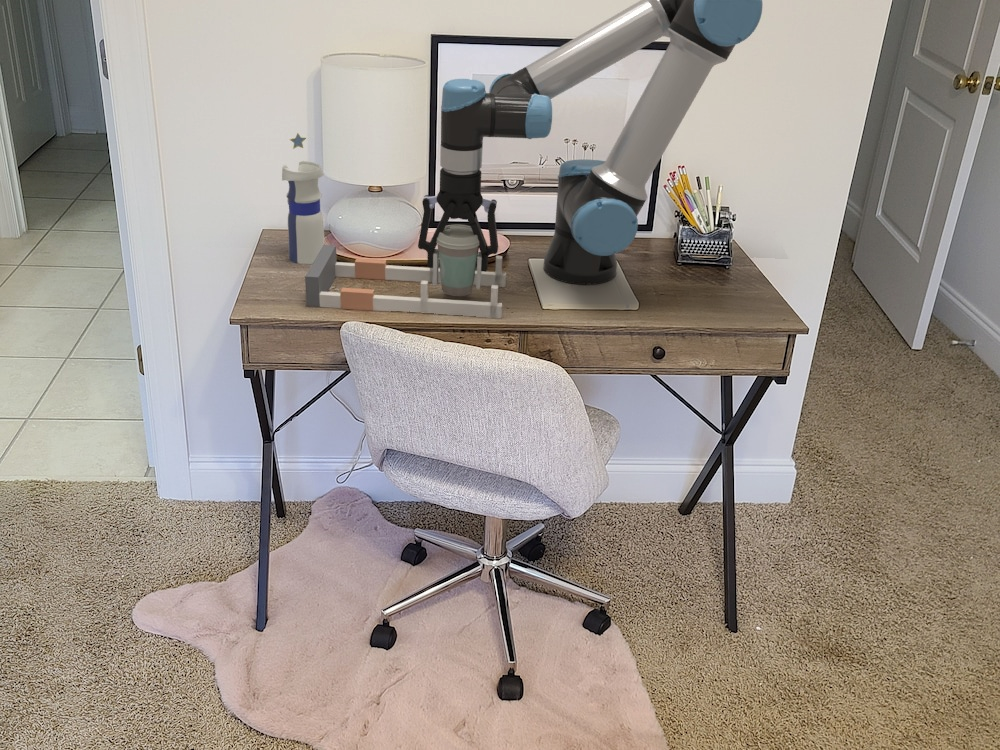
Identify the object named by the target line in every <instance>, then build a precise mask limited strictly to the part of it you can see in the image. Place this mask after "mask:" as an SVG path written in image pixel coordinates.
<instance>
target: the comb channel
mask: <svg viewBox="0 0 1000 750" xmlns="http://www.w3.org/2000/svg"><path fill="white" fill-rule="evenodd" d="M494 270H495V271H488V270H487V271H486V272H484V271H482V274H481V287H483V286H484V287H491V288H490V301H475V300H461V299H444V298H430V297H429V283H432V284H433V268H428V267H423V266H420V267H419V266H407V265H406V266H405V265H403V266H402V265H393V264H391V265H389V264H387V260H386V259H374V258H355V261H354V262H343V261H338V260H337V246H336V245H334V244H333V245H331V244H325V245H323V246H322V248H321V250H320V252H319V253H318V255H317V257H316V258H315V260H314V262H313V264H310V267H309V269H308V271H307V272H306V274H305V276H304V283H305V300H306V307H312V308H313V307H316V308H318V307H319V308H332V309H342V310H343V309H344V310H358V311H372V312H373V311H378V312H391V311H408V312H409V311H410V312H424V313H434V314H433V315H438V314H447V315H446V316H453V315H463V316H462V317H469V316H476V317H475V318H485V317H486V318H487V319H488V318H489V319H502V315H503V303H502V302H498V300H499V299H498V297H499V296H498V295H499V288H506V283H507V282H506V280H507V272H503V271H502V270H503V256H502V255H496V256H495V269H494ZM336 277H337V278H338V277H339V278H352V279H353V278H354V279H363V280H364V279H365V280H368V279H369V280H381V281H388V280H389V281H402V282H416V283H420V297H415V296H402V295H401V296H399V295H398V296H397V295H396V296H395V295H383V294H380V295H379V294H375V289H373V288H372V289H370V288H369V289H368V288H353V287H341V289H340V292H336V291H329V290H330V288H331V286H332V284H333V282H334V280H335V279H336ZM476 281H477V270H475V275H474V282H473V286H476ZM437 284H441V275H440V267H438V283H437ZM435 313H436V314H435Z"/></svg>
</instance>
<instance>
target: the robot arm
mask: <svg viewBox="0 0 1000 750" xmlns="http://www.w3.org/2000/svg"><path fill="white" fill-rule="evenodd" d="M762 14H763V0H639V1H637V2H636V3H633V4H632V5H630V6H629V7H627V8H625V9H623V10H621V11H620V12H618V13H617V14H615V15H613V16H611V17H610V18H607V19H606V20H604V21H603V22H601V23H599V24H597V25H596V26H593V28H590V29H589V30H586V31H585V32H584V33H581V34H580V35H578V36H576V37H575V38H573V39H571V40H569V41H567V42H566V43H564V44H563V45H560V46H559V47H557V48H556V49H554V50H552V51H550V52H549V53H547V54H545V55H544V56H542V57H540V58H538V59H537V60H535V61H533V62H531V63H530V64H527V65H526V66H525V67H523V68H521V69H519V70H517V71H515V72H513V73H509V72H508V73H503V74H500V75H499V76H497V77H495V79H493V81H492V83H491V84H490V87H489V91H488V92H487V91H486V85H485V83H484V82H482V81H480V80H477V79H469V78H455V79H450V80H447V81H446V82H445V83H444V85H443V87H442V92H441V93H442V96H441V105H440V112H441V113H440V153H439V154H440V158H439V161H440V163H439V165H440V167H441V169H440V171H439V191H438V193H437V195H434V196H433V195H432V196H430V195H428V194H425V195H424V196H423V199H422V200H421V201H422V206H423V207H422V208H423V214H422V216H423V217H422V221H421V226H420V231H419V238H418V243H417V247H418V249H419V250H424V251H426V252H427V265H426V266H427V268H433V283H432V286H433V287H437V286H438V284H439V283H438V268H440V265H439V254H438V248H436V247H437V246H438V244H437V243H436V242H437V238H438V236H439V233H440V232H442V233H443V230H444V228H445V226H447V224H448V222H449V220H450V219H451V220H456V219H460V220H464V221H465V220H466V221H467V222H468V224H469V226H471V228H472V231H473V233H474V235H477V237H478V241H479V251H478V257H477V263H476V271H477V281H476V285H475V286H476V287H475V289H476V290H481V287H482V286H481V274H482V271H484V272H486V271H488V266H489V256H490V255H496V254H497V253H498V251H499V241H498V232H497V222H496V213H495V212H496V209H497V202H498V201H497V200H496V199H491V200H489V199H486V198H485V199H484V198H483V195H482V193H481V192H482V190H481V189H482V171H481V168H482V166H483V163H482V162H483V143H484V142H483V141H484V138H505V139H506V138H507V139H508V138H510V139H528V140H532V139H544V138H547V137H548V136H549V135H550V133H551V129H552V125H553V123H552V122H553V104H552V99H553V98H555V97H558V96H559V95H561V94H563V93H564V92H566V91H568V90H570V89H572V88H573V87H575V86H577V85H579V84H580V83H583V82H584V81H587V79H590V77H591V78H592V77H593V76H595V75H597V74H598V73H600V72H601V71H603V70H605V69H607V68H608V67H611V66H612V65H614V64H616V63H618V62H620V61H622V60H623V59H625V58H626V57H628V56H631V55H632V54H635V52H637V51H639V50H641V49H643V48H645V47H646V46H648V45H650V44H651V43H654V42H655V41H657V40H659V39H661V38H662V37H666V38H669V39H670V41H669V44H668V46H667V48H666V50H665V52H664V53H663V55H662V58H661V59H660V60H659V63H658V65H657V66H656V68H655V70H654V72H653V74H652V75H651V77H650V79H649V81H648V83H647V84H646V86H645V88H644V90H643V92H642V94H641V95H640V97H639V99H638V101H637V103H636V105H635V107H634V108H633V110H632V112H631V114H630V116H629V118H628V120H627V121H626V123H625V125H624V126H623V128H622V130H621V132H620V134H619V136H618V137H617V139H616V141H615V143H614V144H613V147H612V148H611V150H610V153H609V154H608V156H607V158H606V160H599V159H584V158H583V159H581V158H580V159H570V160H566V161H564V162H562V163H561V165H560V166H559V171H558V176H557V179H558V183H557V195H556V197H557V198H556V213H555V223H554V224H555V225H554V234H553V236H552V238H551V241H550V242H549V245H548V248H547V250H546V253H545V255H544V258H543V270H544V272H545V273H546V274H547V276H549V277H551V278H553V279H555V280H558V281H560V282H561V281H562V282H564V283H569V284H575V285H595V284H596V285H597V284H602V283H605V282H606V283H607V282H609V281H611V280H612V279H614V278H615V277H616V275H617V268H618V261H617V257H616V254H618V253H621V252H622V251H625V249H626V248H628V247H629V246H630V245H631V244H632V243H633V242H634V239H635V238H636V235H637V233H638V227H639V223H638V215H639V213H640V212H641V210H642V208H643V206H644V205H645V203H646V202H647V200H648V195H647V190H646V184H647V183H648V181H649V180H650V178H651V176H652V174H653V172H654V170H655V169H656V168H657V165H658V164H659V162H660V160H661V158H662V157H663V155H664V153H665V152H666V149H667V147H668V146H669V144H670V143H671V141H672V139H673V138H674V136H675V134H676V132H677V131H678V129H679V127H680V125H681V124H682V121H683V119H684V118H685V116H686V114H687V112H689V110H690V107H691V106H692V104H693V102H694V100H695V99H696V97H697V95H698V93H699V92H700V90H701V88H702V86H703V85H704V83H705V82H706V79H708V78H707V77H708V76H709V74H710V72H711V71H712V69H713V68H714V67H715V66H716V65H718V64H722V63H724V62H727V60H728V59H729V57H730V55H731V54H732V52H733V50H734V48H735V46H736V45H738V44H740V43H742V42H744V41H746V40H747V39H748V38H749V37H750V36H751V35H752V34H753V33H754V32H755V30H756V29H757V27H758V25H759V23H760V21H761V19H762ZM437 203H438V205H439V207H440V208H441V209H442V211H443V214H442V216H441V219H440V220H439V222H438V225H437V227H436V229H435V231H434V233H433V235H432V237H431V240H430V241H427V237H428V233H429V227H430V221H431V215H432V211H433V209H434V208H435V206H436V204H437ZM481 206H482V207H483V210H484V212H485V213H487V225H488V226H487V227H488V234H489V235H488V236H489V243H490V245H488V243H487V241H486V237H485V234H484V232H483V230H482V228H481V225H480V222H479V219H478V216H477V215H478V214H477V213H476V212H477V211H478V210H479V209H480V208H481Z"/></svg>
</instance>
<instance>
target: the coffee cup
mask: <svg viewBox="0 0 1000 750" xmlns="http://www.w3.org/2000/svg"><path fill="white" fill-rule="evenodd" d="M436 243H437V249H438V254H439V268H440V275H441V283H440V286H441V291H442V293H445V295H448V296H453V297H463V296H468V295H470V294H471V293H472V292H473V286H474V285H473V282H474V275H475V271H476V270H477V257H478V252H480V249H479V241H478V237H477V235H474V233H473V231H472V228H471V226H470V225H468V224H448V225H447V224H446V226H445V228H444V230H443V233H442V232H440V233H439V236H438V238H437V242H436Z"/></svg>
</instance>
